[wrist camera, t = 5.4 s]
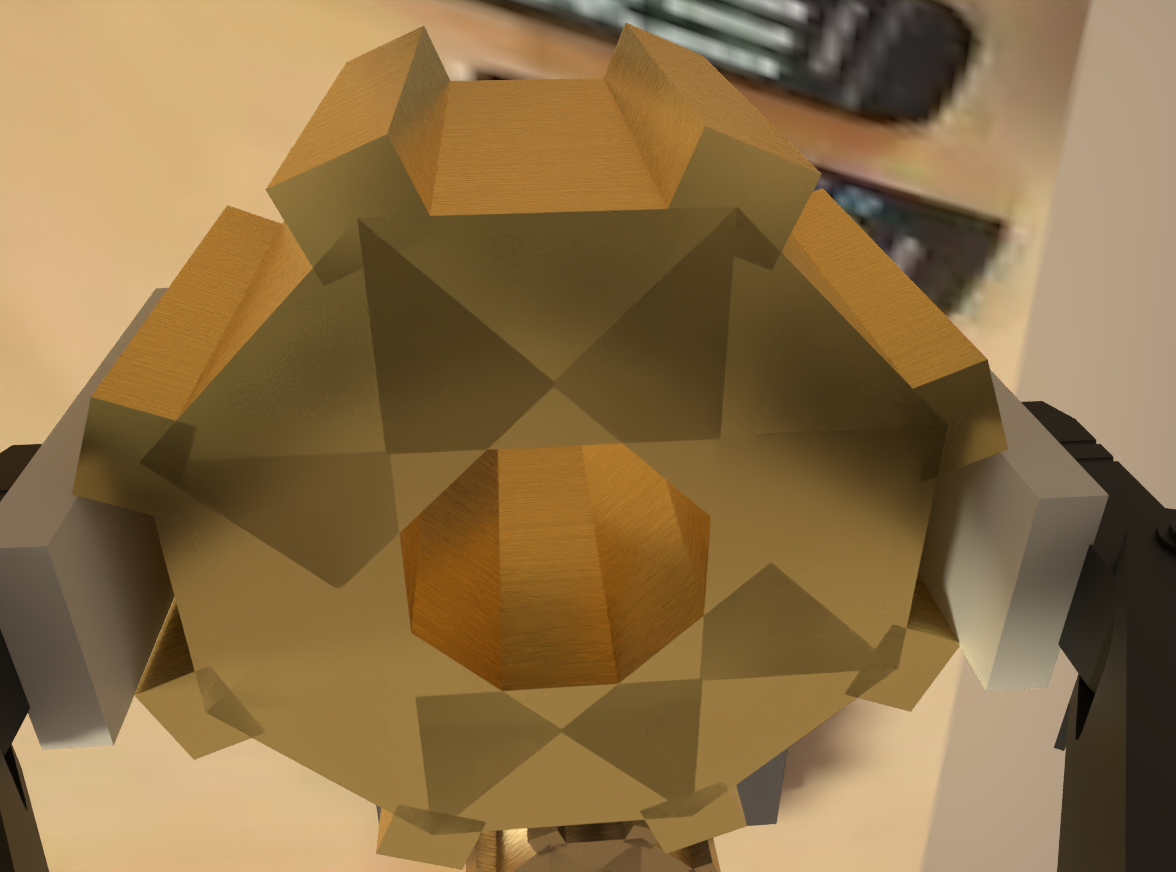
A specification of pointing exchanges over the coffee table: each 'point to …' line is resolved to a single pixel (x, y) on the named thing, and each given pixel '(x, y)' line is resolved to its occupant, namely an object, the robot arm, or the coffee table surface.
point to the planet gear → (538, 453)
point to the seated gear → (586, 850)
